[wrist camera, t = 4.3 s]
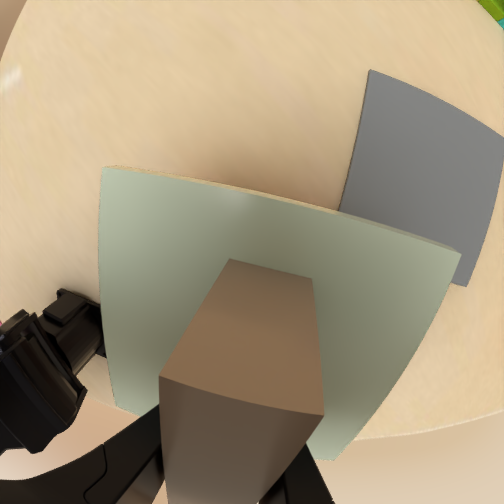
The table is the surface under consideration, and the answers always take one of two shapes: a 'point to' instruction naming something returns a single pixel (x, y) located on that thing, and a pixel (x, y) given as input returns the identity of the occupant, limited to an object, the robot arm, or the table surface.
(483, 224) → the mat
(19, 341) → the robot arm
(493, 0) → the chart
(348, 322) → the lid
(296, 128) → the table surface
